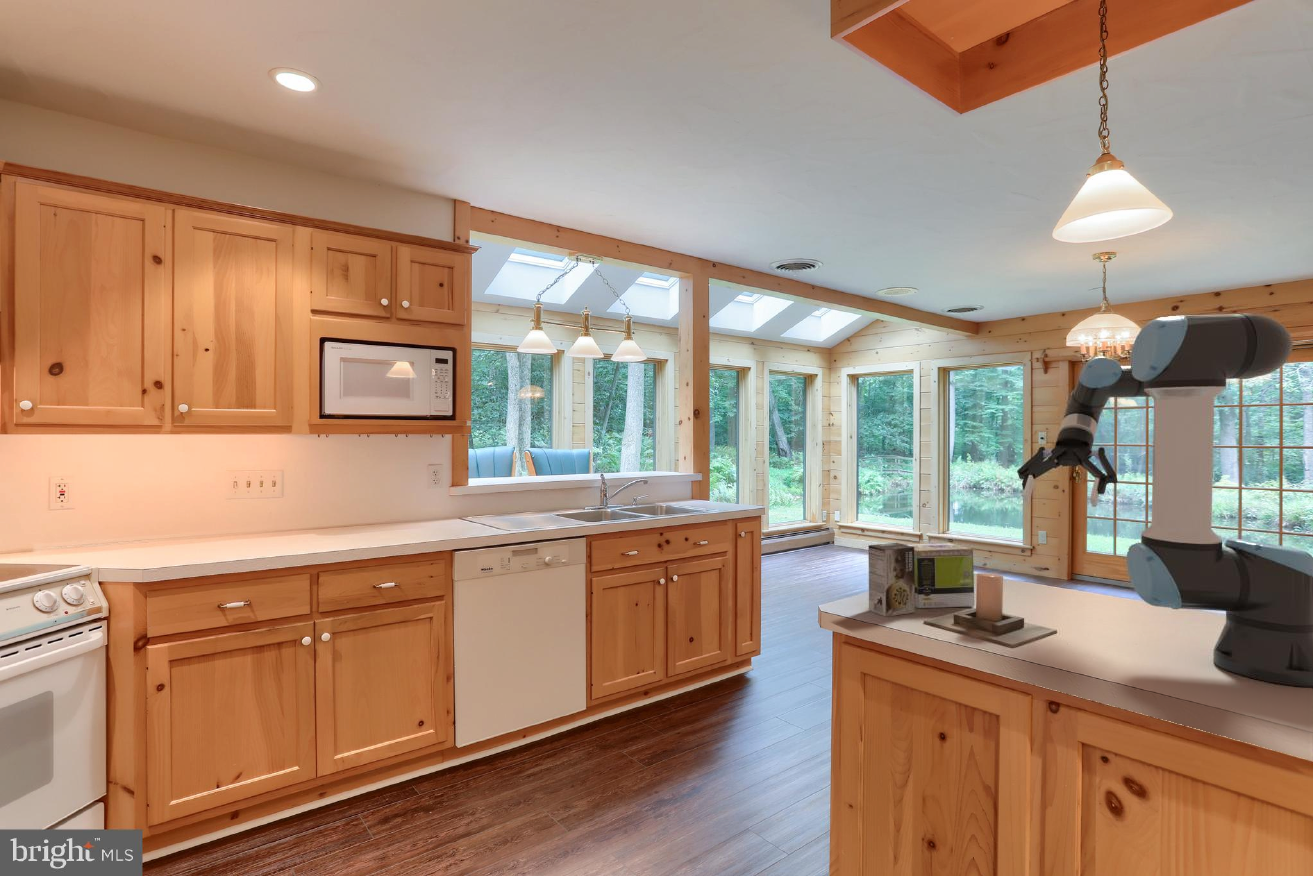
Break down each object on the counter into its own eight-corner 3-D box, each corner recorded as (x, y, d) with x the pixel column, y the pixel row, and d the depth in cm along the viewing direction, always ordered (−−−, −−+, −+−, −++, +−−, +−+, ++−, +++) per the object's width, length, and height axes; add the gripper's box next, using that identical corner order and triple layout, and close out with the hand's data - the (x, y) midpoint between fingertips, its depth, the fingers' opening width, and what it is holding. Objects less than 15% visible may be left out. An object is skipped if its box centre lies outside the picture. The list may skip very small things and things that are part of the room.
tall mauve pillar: (1006, 626, 139) (1007, 576, 139) (994, 629, 136) (995, 579, 136) (983, 620, 143) (984, 572, 143) (971, 623, 140) (972, 574, 140)
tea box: (952, 597, 166) (952, 542, 166) (975, 608, 156) (975, 548, 156) (898, 598, 165) (898, 542, 165) (917, 609, 155) (917, 549, 155)
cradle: (1056, 632, 136) (1056, 620, 136) (1012, 647, 126) (1012, 634, 126) (968, 611, 153) (968, 600, 153) (923, 623, 143) (923, 611, 143)
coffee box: (896, 606, 157) (896, 542, 157) (915, 613, 151) (916, 546, 151) (867, 610, 154) (867, 544, 154) (885, 617, 148) (885, 548, 148)
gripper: (1140, 447, 149) (1126, 516, 139) (1023, 446, 167) (1003, 507, 157) (1136, 424, 145) (1121, 493, 135) (1017, 426, 163) (996, 486, 153)
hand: (1058, 500), depth 146 cm, fingers open, 13 cm apart
